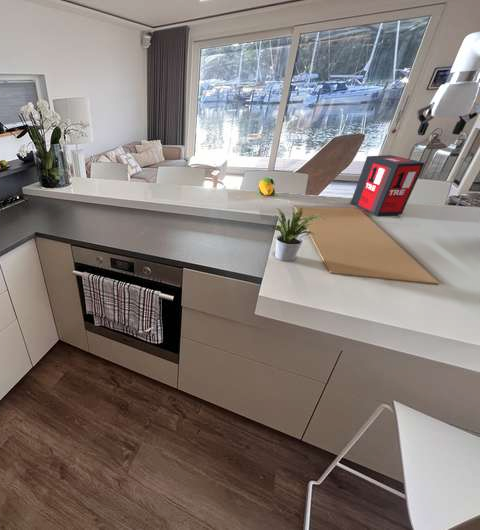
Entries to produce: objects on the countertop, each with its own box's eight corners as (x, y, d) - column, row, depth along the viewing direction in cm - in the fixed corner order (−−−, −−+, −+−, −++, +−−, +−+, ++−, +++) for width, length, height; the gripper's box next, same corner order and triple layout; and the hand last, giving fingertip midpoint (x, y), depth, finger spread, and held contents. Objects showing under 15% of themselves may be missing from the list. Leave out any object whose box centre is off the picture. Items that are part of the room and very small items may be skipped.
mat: (358, 209, 121) (359, 208, 120) (438, 284, 74) (439, 283, 73) (294, 207, 128) (294, 206, 128) (330, 273, 81) (330, 272, 81)
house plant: (319, 273, 81) (337, 219, 73) (265, 268, 85) (277, 216, 77) (306, 251, 93) (321, 202, 85) (260, 247, 97) (270, 200, 89)
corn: (274, 174, 149) (279, 184, 133) (272, 189, 152) (277, 200, 136) (258, 175, 151) (262, 185, 135) (257, 189, 155) (260, 200, 139)
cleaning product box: (350, 203, 128) (367, 156, 118) (371, 202, 127) (390, 155, 117) (376, 216, 114) (398, 164, 104) (401, 215, 113) (424, 162, 103)
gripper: (490, 76, 95) (463, 132, 103) (423, 81, 101) (402, 134, 109) (507, 75, 89) (476, 135, 97) (435, 80, 95) (412, 136, 103)
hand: (437, 134), depth 103 cm, fingers open, 9 cm apart
